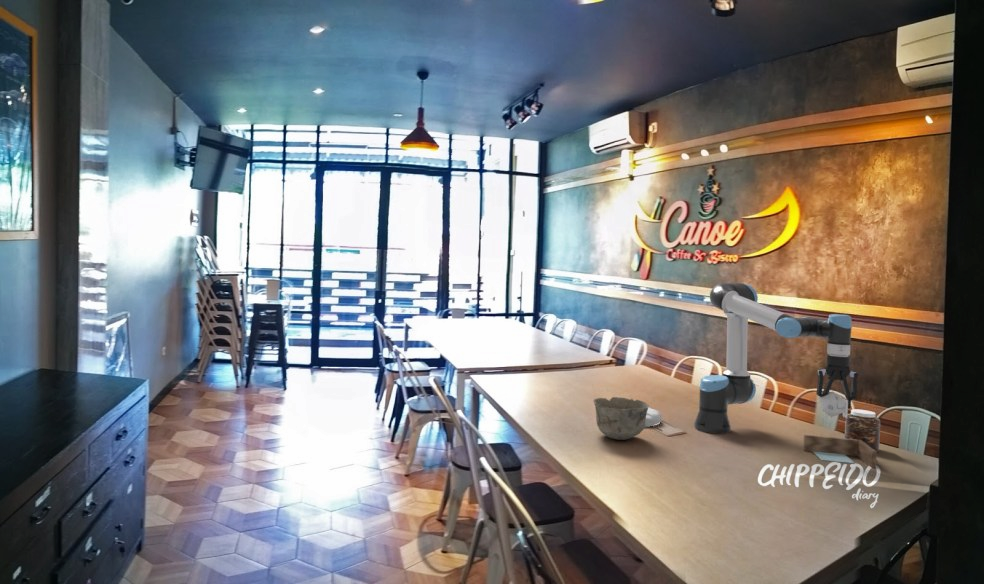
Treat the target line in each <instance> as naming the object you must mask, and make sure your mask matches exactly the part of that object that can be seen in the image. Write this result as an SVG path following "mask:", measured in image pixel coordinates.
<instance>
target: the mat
mask: <svg viewBox="0 0 984 584" xmlns="http://www.w3.org/2000/svg"><path fill="white" fill-rule="evenodd" d="M813 454H815V456H816V457H818V459H819V460H821V461H822V462H831V463H832V462H833V463H834V462H835V463H842V464H853V465H854V464H855V462H854V460H852V459H851V458H850V457H848V455H845V454H836V453H826V452H815V451H813Z"/></svg>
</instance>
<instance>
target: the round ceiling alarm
mask: <svg viewBox="0 0 984 584" xmlns="http://www.w3.org/2000/svg"><path fill="white" fill-rule="evenodd" d="M659 422H661V423H662V414H661V413H660V411H659V410H656V409H653V408H651V407H648V410H647V414H646V420H645V427H644V428H649V427H650V426H653V425H654V424H657V423H659ZM653 427H654V426H653ZM650 428H651V427H650Z"/></svg>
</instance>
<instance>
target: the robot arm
mask: <svg viewBox="0 0 984 584" xmlns="http://www.w3.org/2000/svg"><path fill="white" fill-rule="evenodd" d="M758 296H759V295H758V292H757V291H756V289H755V288H754V287H753V286H752V285H750V284H748V283H741V282H738V283H736V282H735V283H734V282H722V283H718V284H716V285H715V286H713V288H711V290H710V292H709V301H710V302H711V305H712V306H713V307H715V308H716V309H719V310H721V311H722V312H723V314H724V315H725V316H726V317H727V319H726V323H727V324H726V358H725V359H726V363H725V364H726V366H725V367H726V369H725V370H724V371H723V372H722V374H721V375H720V374H719V375H718V374H714V375H713V374H709V375H704V376H703V377H701V378H700V384H699V399H698V400H699V404H698V405H699V407H698V413H697V414H696V417H695V420H694V426H693V427H695V428H694V429H696V430H697V431H700V432H704V433H709V434H720V435H721V434H722V435H724V434H725V435H726V434H729V433H731V431H732V426H731V422H730V418H729V414H728V405H742V404H745V403H749V402H750V401H752V400H753V399H754V398H755V395H756V392H757V387H756V383H754V380H753V379H752V378H751V373H749V372H748V334H749V333H748V326H749V324H748V323H749V320H751V321H753V322H755V323H756V324H759V325H761V326H764V327H766V328H768V329H771V330H774V331H775V332H776V333H777V334H778V335H779V336H780V337H782V338H788V339H794V338H824V339H827V345H826V346H827V348H826V349H827V350H826V353H827V355H826V364H825V365H826V367H824V368H823V369H817V371H816V372H817V376H818V377H817V382H816V383H817V385H816V395H817V396H818V397H822V396H823V397H824V396H826V395H828V393H830V392H831V391H830V390H831V388H832V386H833V383H834V382H835V381H837V380H838V381H840V382H841V385H842V389H843V393H844V397H845V398H844V399H843V398H842V399H843V400H845V412H843V413H842V417H843V418H845V419H846V418H847V414H849V413H848V412H849V411H848V410H849V409H851V408H852V406H851V405H852V401H853V400H856V399H858V390H857V389H858V385H857V382H858V381H857V380H858V377H859V373H858V372H855V371H851V369H850V366H851V365H850V364H851V363H850V362H851V361H850V360H851V357H850V355H851V337H852V328H853V326H852V316H850V315H848V314H838V313H834V314H833V313H832V314H829V315H828V318H820V317H814V316H813V317H812V316H803V317H794V316H792V315H789V314H787V313H785V312H782V311H779V310H777V309H774V308H772V307H769V306H768V305H764V304H762V303H759V301H758V300H759V298H758ZM825 373H826V374H827V376H828V377H827V380H826V383H825V385H824V380H825V379H824V376H825ZM848 376H850V389H849V386H848V381H847V377H848ZM823 386H824V388H823ZM823 415H824V416H825V417H829V415H828V414H826V413H825V412H824V411H823Z"/></svg>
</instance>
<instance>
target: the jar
mask: <svg viewBox="0 0 984 584" xmlns="http://www.w3.org/2000/svg"><path fill="white" fill-rule="evenodd" d="M844 424H845V425H844V438H845V439H856V440H862V441H863V442H864V443H866V444H867V445H868V446H870V447H871V448H872V449H874V450H875V451H877V453H879V451H880V441H881V440H880V438H881V437H880V436H881V420H880V418H878V417H876V412H874V411H871V410H866V409H858V408H857V409H856V408H855V409H854V408H853V409H851V410H850V413H847V418H845V423H844Z"/></svg>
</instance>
